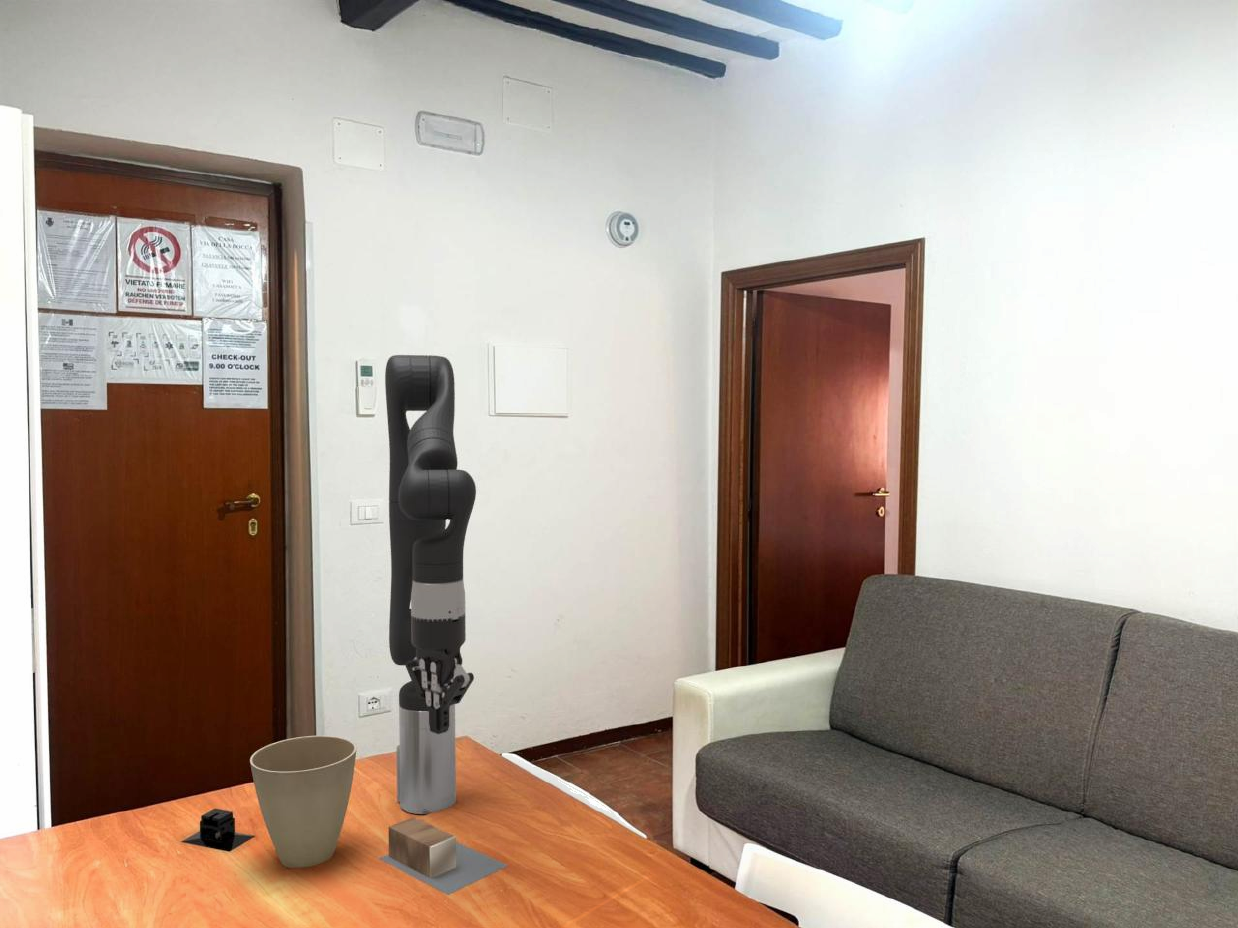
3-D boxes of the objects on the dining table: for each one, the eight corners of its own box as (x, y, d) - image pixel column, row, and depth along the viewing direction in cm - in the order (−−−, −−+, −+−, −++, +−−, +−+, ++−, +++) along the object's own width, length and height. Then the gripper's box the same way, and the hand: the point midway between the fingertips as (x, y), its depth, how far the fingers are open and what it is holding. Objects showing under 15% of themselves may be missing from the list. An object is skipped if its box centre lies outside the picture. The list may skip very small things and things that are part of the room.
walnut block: (431, 878, 134) (388, 856, 140) (456, 866, 137) (413, 846, 144) (430, 847, 134) (388, 826, 140) (456, 836, 137) (413, 817, 144)
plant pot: (328, 826, 152) (326, 728, 151) (376, 857, 141) (375, 752, 140) (235, 857, 141) (232, 751, 140) (279, 893, 131) (277, 779, 130)
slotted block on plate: (168, 845, 146) (168, 816, 146) (204, 826, 153) (203, 798, 153) (233, 858, 142) (232, 828, 142) (267, 838, 149) (266, 809, 148)
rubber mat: (378, 860, 140) (378, 858, 140) (438, 835, 148) (438, 833, 148) (448, 897, 130) (448, 894, 130) (508, 868, 138) (508, 865, 138)
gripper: (388, 608, 135) (389, 727, 136) (447, 622, 127) (448, 750, 128) (430, 600, 141) (431, 715, 142) (489, 613, 132) (490, 735, 133)
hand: (439, 731), depth 135 cm, fingers closed
